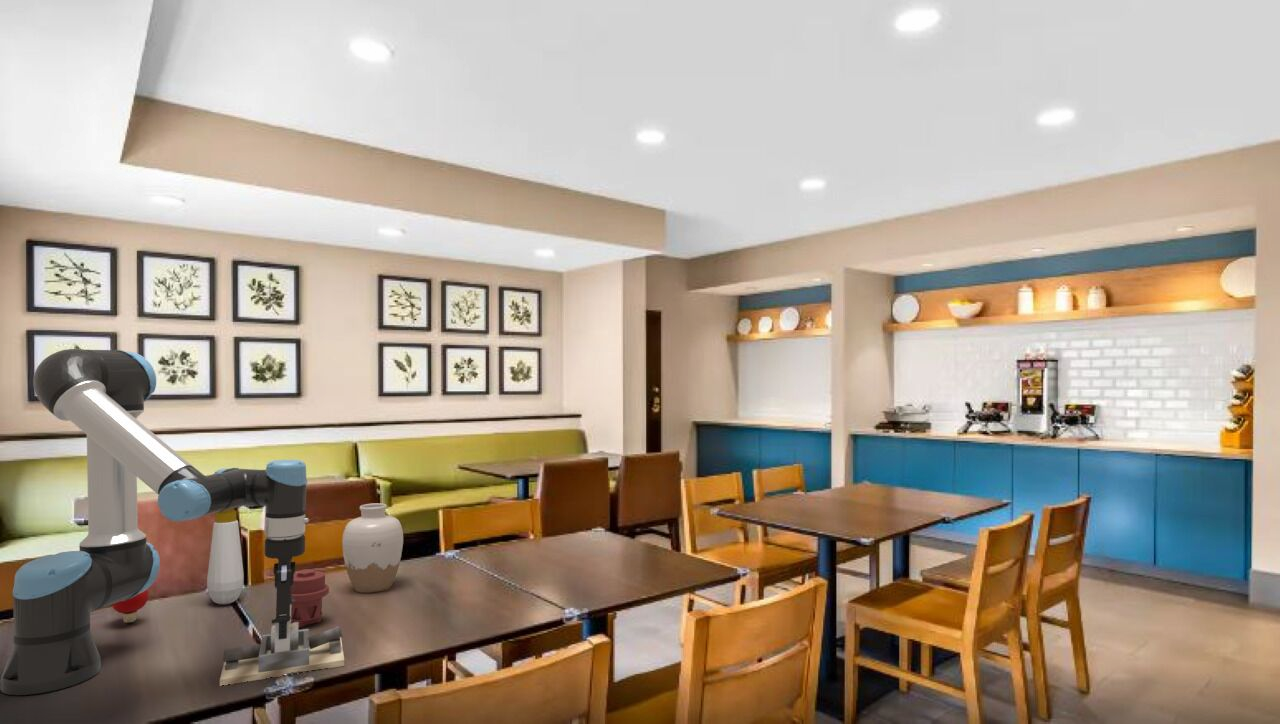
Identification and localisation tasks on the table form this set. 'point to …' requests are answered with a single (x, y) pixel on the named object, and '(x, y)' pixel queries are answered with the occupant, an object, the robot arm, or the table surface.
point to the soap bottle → (225, 559)
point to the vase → (372, 549)
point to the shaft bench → (283, 657)
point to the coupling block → (292, 637)
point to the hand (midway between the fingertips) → (282, 644)
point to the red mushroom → (131, 606)
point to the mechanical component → (308, 596)
